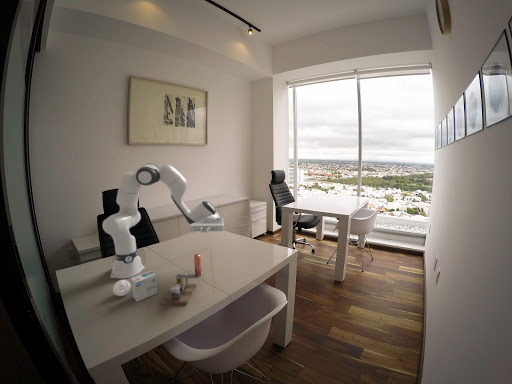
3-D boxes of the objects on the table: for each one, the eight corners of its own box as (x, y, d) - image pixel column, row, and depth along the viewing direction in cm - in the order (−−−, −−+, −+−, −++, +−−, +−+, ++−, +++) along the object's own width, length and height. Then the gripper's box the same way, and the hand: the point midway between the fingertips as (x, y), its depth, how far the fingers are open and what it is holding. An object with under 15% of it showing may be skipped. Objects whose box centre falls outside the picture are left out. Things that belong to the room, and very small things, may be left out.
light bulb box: (153, 288, 126) (151, 270, 124) (158, 293, 121) (156, 274, 119) (132, 296, 118) (130, 277, 117) (136, 302, 114) (134, 282, 112)
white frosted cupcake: (114, 301, 115) (113, 286, 114) (113, 294, 121) (111, 280, 120) (132, 295, 119) (131, 281, 118) (130, 288, 125) (128, 275, 124)
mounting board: (174, 286, 127) (174, 283, 127) (196, 286, 127) (195, 284, 127) (162, 304, 111) (161, 302, 111) (186, 305, 111) (186, 302, 111)
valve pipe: (180, 284, 126) (179, 272, 125) (188, 284, 126) (188, 272, 125) (170, 300, 112) (169, 287, 111) (179, 300, 112) (178, 287, 111)
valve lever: (177, 277, 119) (176, 253, 117) (202, 277, 119) (200, 253, 117) (175, 280, 116) (173, 256, 114) (200, 280, 116) (199, 256, 114)
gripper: (192, 219, 141) (185, 225, 127) (225, 218, 140) (221, 225, 127) (193, 228, 142) (185, 236, 128) (225, 228, 141) (221, 236, 128)
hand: (203, 231), depth 128 cm, fingers closed
